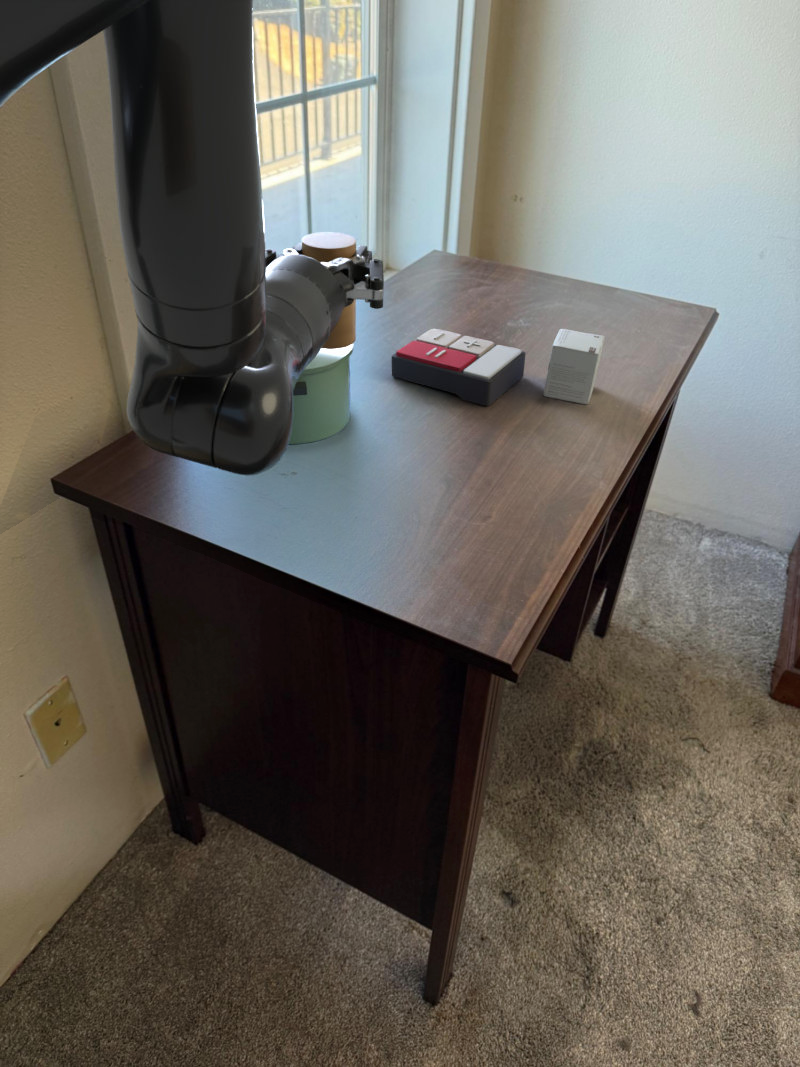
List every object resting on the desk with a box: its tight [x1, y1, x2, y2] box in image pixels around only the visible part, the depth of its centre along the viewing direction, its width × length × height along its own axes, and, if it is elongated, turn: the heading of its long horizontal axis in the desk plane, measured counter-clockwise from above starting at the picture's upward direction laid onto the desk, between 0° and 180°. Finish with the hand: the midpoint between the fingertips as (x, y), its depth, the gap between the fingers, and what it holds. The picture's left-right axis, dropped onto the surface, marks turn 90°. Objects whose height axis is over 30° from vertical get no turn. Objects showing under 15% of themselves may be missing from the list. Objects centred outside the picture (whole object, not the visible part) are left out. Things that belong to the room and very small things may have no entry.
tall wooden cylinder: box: [301, 231, 357, 349], centre depth 74 cm, size 5×5×10 cm
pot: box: [288, 342, 355, 445], centre depth 90 cm, size 15×17×10 cm
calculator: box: [391, 327, 527, 407], centre depth 101 cm, size 11×4×15 cm
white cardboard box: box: [543, 328, 605, 405], centre depth 98 cm, size 6×6×7 cm
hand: (335, 252), depth 75 cm, fingers closed on tall wooden cylinder, 5 cm apart
